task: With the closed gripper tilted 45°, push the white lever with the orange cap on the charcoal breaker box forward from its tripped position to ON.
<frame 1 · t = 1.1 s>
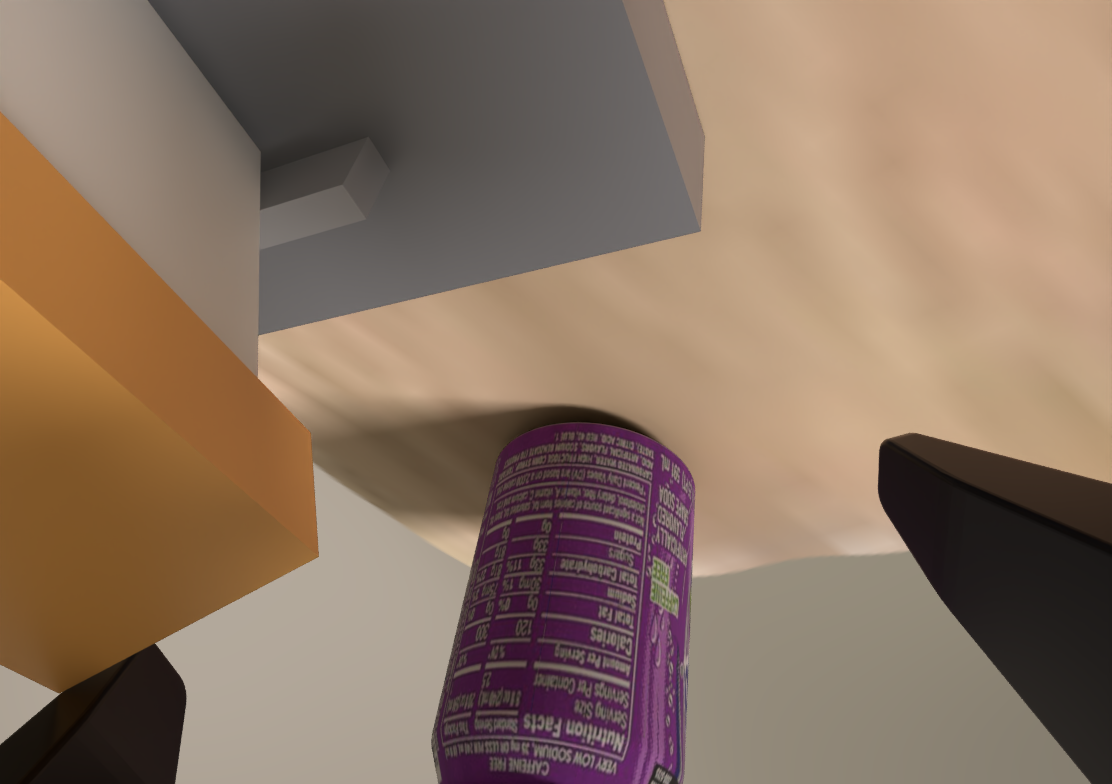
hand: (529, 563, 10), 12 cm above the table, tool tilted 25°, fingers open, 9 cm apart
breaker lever: (57, 188, 10), point 9 cm above the table, hinge at -26.1°, touching gripper
beverage can: (596, 463, 29), on the table
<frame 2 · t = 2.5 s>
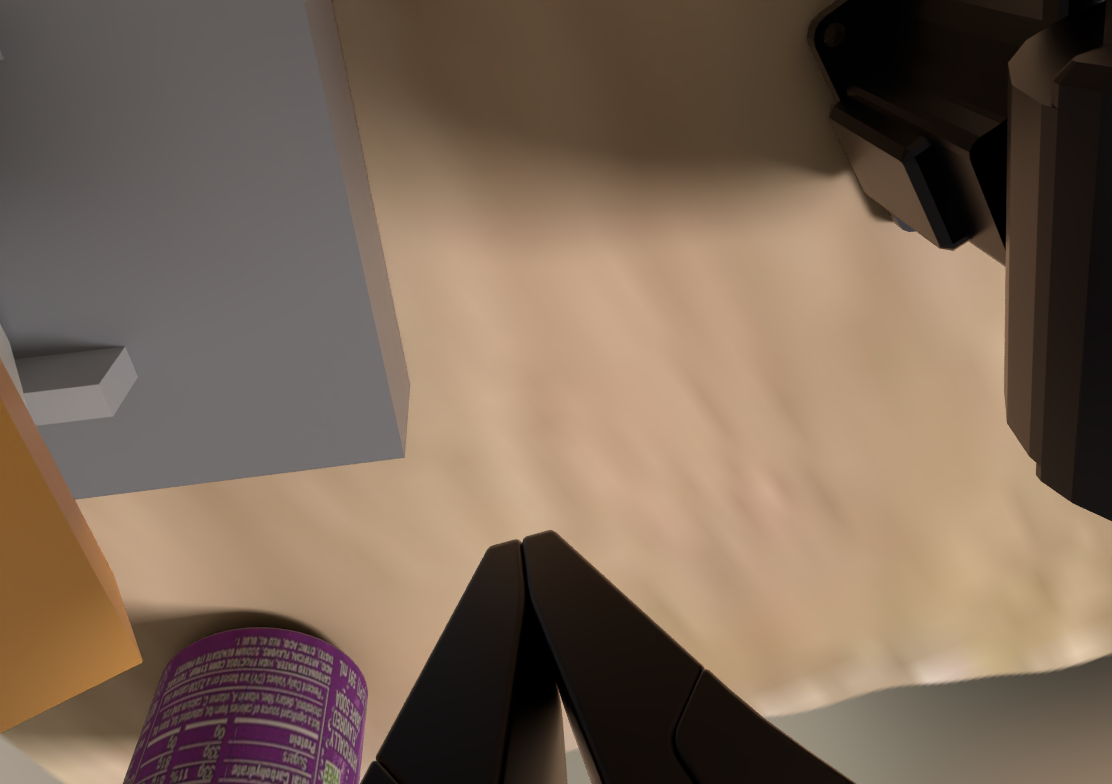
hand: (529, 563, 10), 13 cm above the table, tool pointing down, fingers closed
beverage can: (271, 673, 29), on the table
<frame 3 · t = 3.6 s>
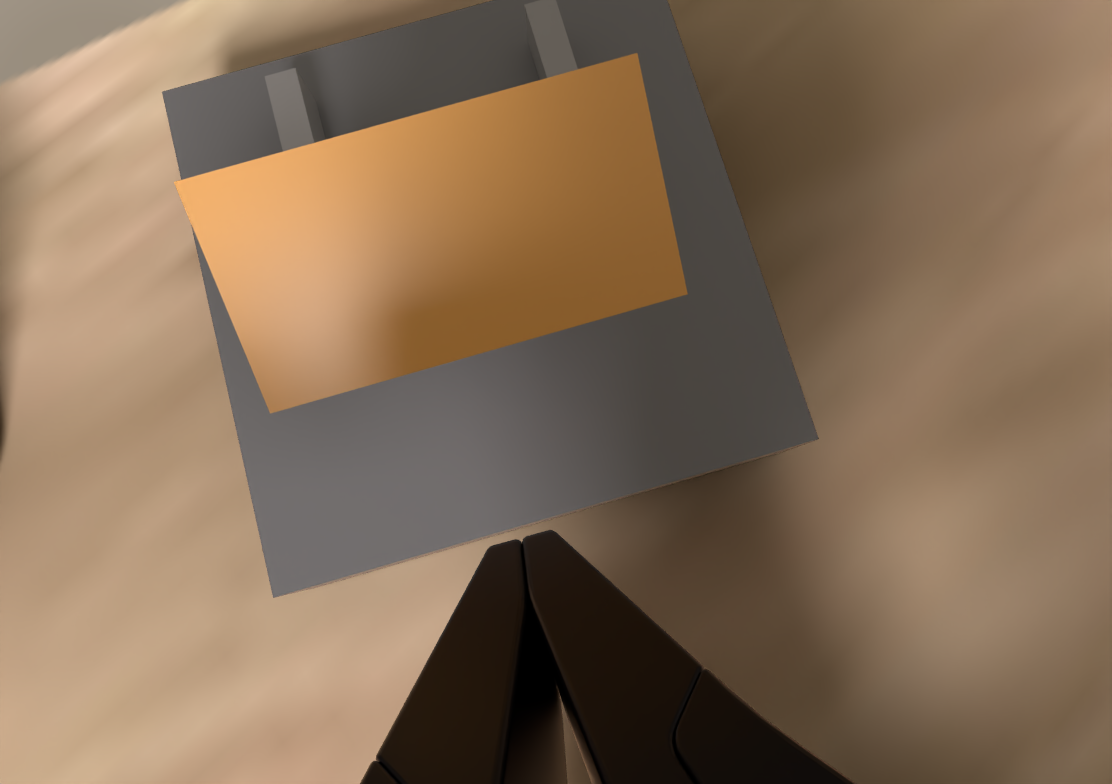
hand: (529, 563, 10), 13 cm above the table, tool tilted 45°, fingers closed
breaker box: (472, 235, 25), on the table
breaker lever: (450, 203, 15), point 9 cm above the table, hinge at -29.1°
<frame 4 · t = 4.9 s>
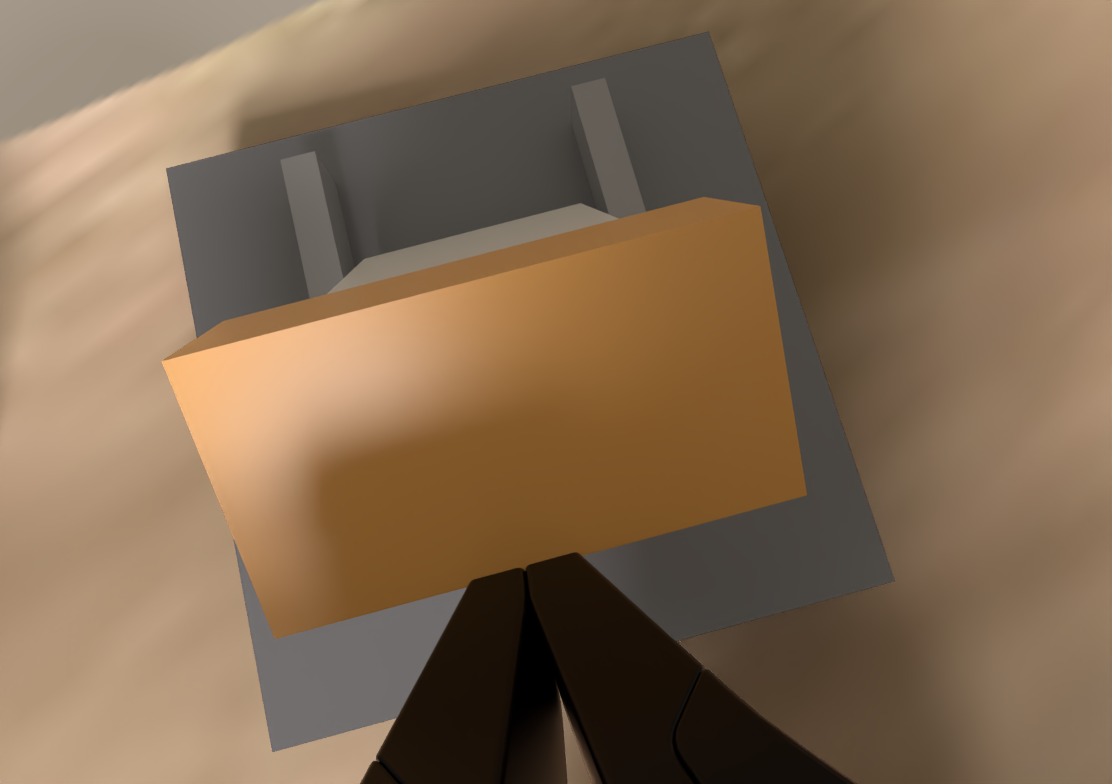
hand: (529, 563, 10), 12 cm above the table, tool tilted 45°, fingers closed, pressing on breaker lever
breaker box: (501, 323, 22), on the table
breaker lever: (492, 329, 13), point 9 cm above the table, hinge at -28.1°, touching gripper
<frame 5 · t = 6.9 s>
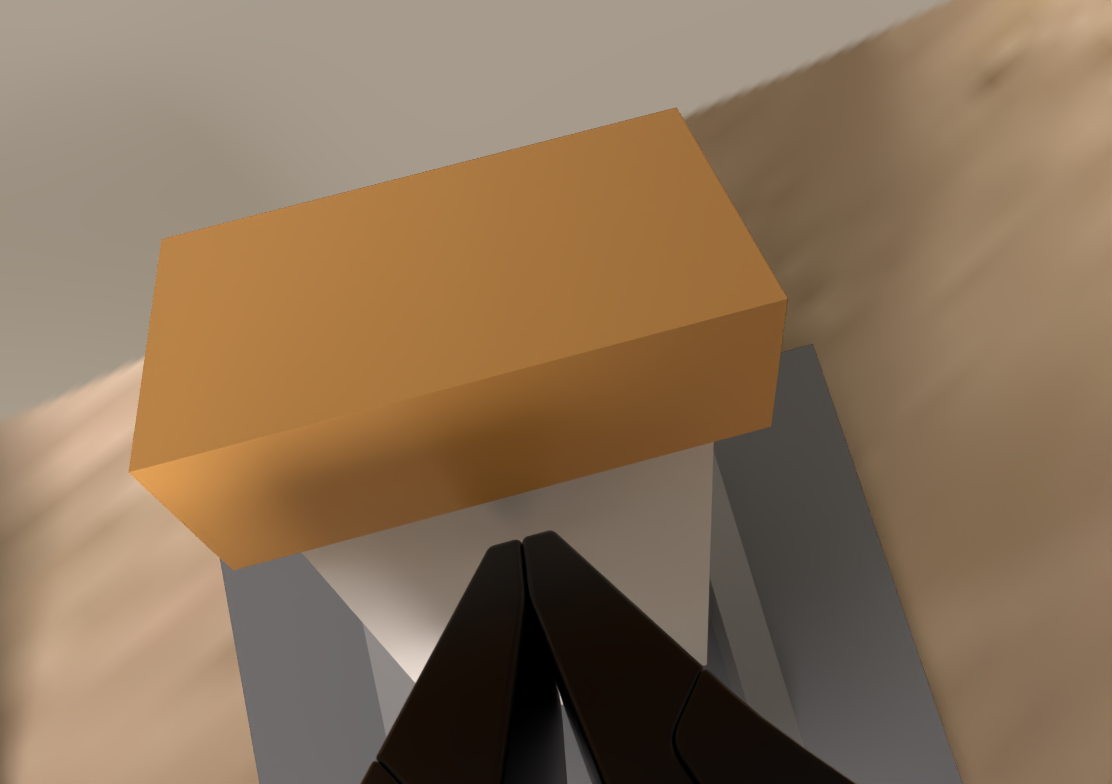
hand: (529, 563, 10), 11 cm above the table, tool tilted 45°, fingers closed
breaker box: (573, 631, 20), on the table
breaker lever: (526, 516, 12), point 9 cm above the table, hinge at 27.1°
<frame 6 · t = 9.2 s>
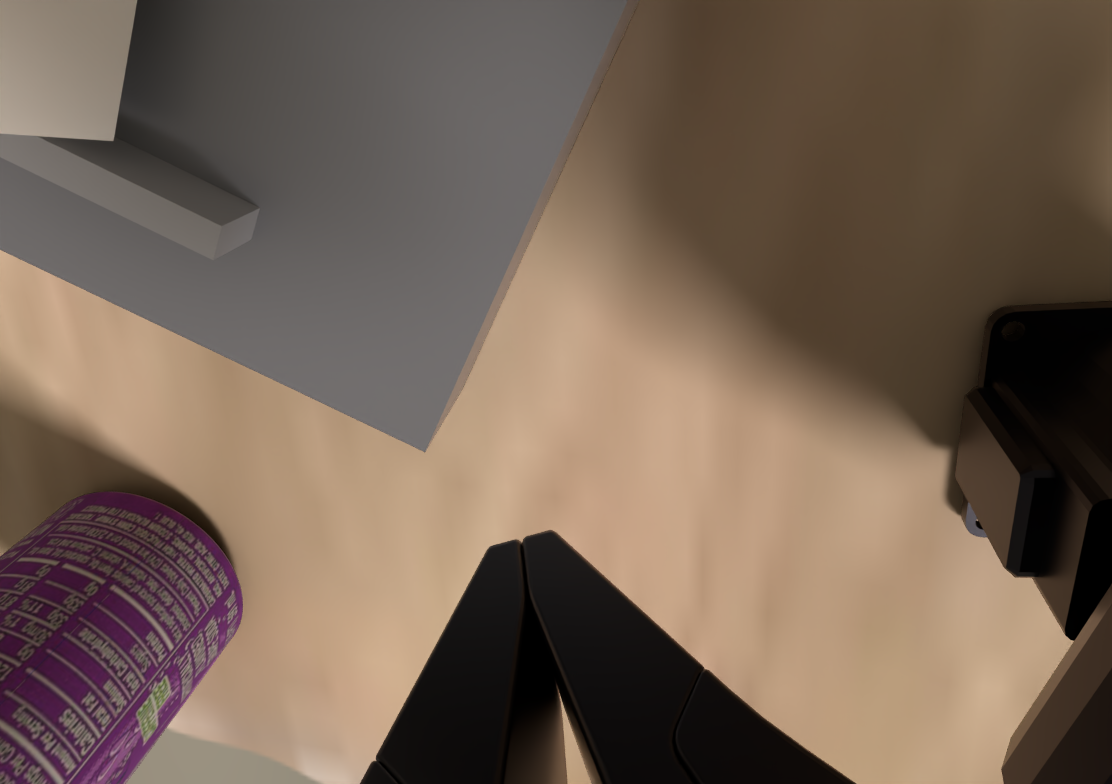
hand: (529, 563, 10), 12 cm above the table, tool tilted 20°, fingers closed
beverage can: (161, 561, 28), on the table
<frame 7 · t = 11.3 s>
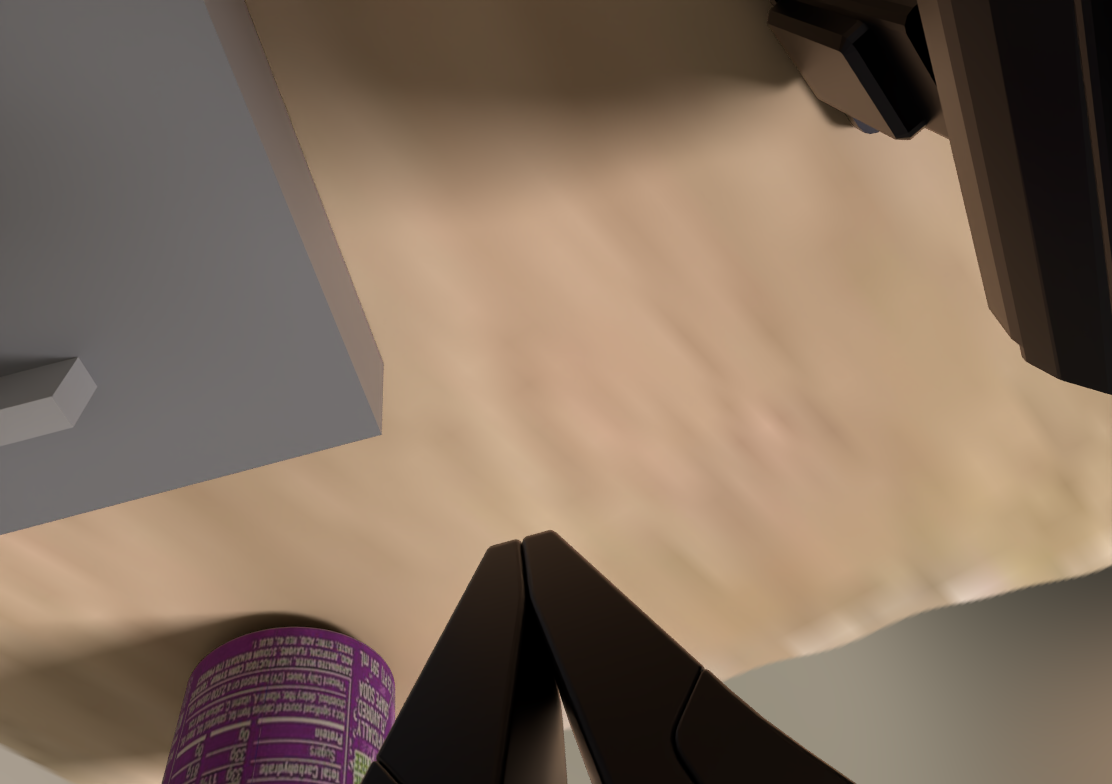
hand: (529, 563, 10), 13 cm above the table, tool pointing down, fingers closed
beverage can: (296, 673, 29), on the table
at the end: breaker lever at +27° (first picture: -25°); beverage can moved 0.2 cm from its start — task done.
